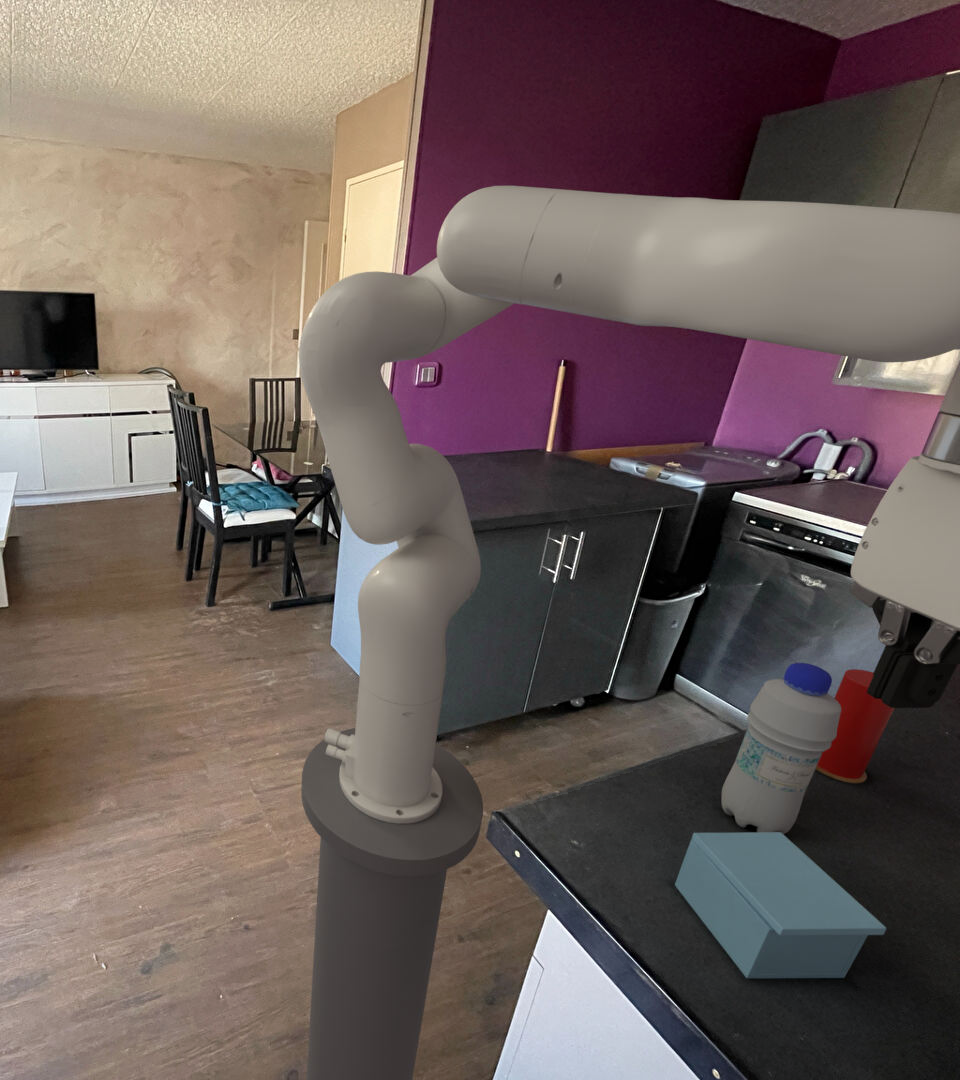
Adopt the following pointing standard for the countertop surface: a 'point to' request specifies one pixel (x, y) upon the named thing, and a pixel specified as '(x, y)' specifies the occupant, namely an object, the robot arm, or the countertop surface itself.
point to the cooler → (758, 929)
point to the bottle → (781, 748)
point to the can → (855, 727)
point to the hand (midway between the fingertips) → (898, 700)
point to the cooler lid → (786, 885)
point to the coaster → (842, 777)
